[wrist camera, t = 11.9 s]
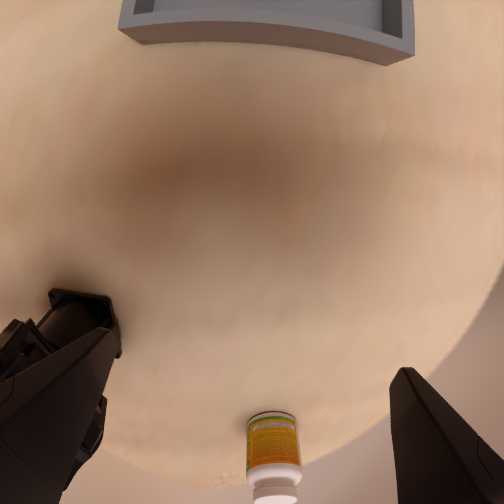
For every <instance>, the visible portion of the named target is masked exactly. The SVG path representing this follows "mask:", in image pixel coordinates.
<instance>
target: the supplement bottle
mask: <svg viewBox="0 0 504 504" xmlns="http://www.w3.org/2000/svg"><path fill="white" fill-rule="evenodd" d="M246 478H247V481H248V483H249V484H250V485H252V486H253V487H255V489H254V503H255V504H293V503H295V502H296V501H297V499H298V498H297V489H296V487H295V486H294V485H296V484H297V483H298V482H299V481H300V480H301V478H302V462H301V453H300V445H299V436H298V428H297V423H296V420H295V419H294V418H293V417H291V416H290V415H287V414H284V413H279V412H270V413H264V414H260V415H258V416H256V417H254V418H252V419H251V420H250V421H249V423H248V425H247V466H246Z"/></svg>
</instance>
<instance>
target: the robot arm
mask: <svg viewBox="0 0 504 504" xmlns="http://www.w3.org/2000/svg"><path fill="white" fill-rule="evenodd" d="M48 296H49V300H50V303H51V307H52V308H51V309H50V310H49V311H48V312H47V314H46V315H45V316H44V317H43V318H42V319H41V320H40V322H39V323H38V324H37V325H36V326H35V325H34V324H35V323H34V322H33V321H32V319H31V318H29V319H28V320H27V321H26V322H25V323H24V322H21V321H19V320H17V319H14V320H13V321H12V322H11V323H10V324H9V325H8V326H7V327H6V328H5V329H4V330H3V331H2V332H1V334H0V504H59V501H60V498H61V496H62V492H63V491H65V490H66V489H67V487H68V486H69V484H70V482H71V480H72V479H73V477H74V475H75V474H76V472H77V471H78V470H79V469H80V467H81V466H82V465H83V464H84V463H85V462H86V461H87V460H88V459H90V458H91V457H92V455H93V454H94V453H95V451H96V450H97V449H98V447H99V445H100V443H101V441H102V438H103V432H104V423H105V415H106V407H107V398H105V397H104V396H103V395H102V394H103V391H104V388H105V385H106V382H107V379H108V376H109V373H110V370H111V367H112V364H113V361H114V358H116V359H119V358H120V357H121V354H122V352H121V348H120V346H121V342H120V337H119V333H118V328H117V324H116V322H115V320H114V315H113V310H112V305H111V301H110V300H109V299H108V298H107V297H103V296H96V295H89V294H83V293H76V292H70V291H64V290H58V289H51V290H50V291H49V292H48ZM104 302H105V303H106V304H107V305H106V304H104ZM389 394H390V415H391V434H392V442H393V451H394V459H395V469H396V480H397V493H398V504H504V460H503V459H502V458H501V457H500V456H499V455H498V454H497V453H495V451H493V449H492V448H491V447H490V446H489V445H488V444H487V443H486V442H485V441H484V440H483V439H482V438H481V437H480V436H478V434H477V433H476V432H475V431H474V430H473V429H472V427H471V426H470V425H468V423H467V422H466V421H465V420H464V419H463V418H462V417H461V416H460V415H459V414H458V413H457V412H456V411H455V410H454V409H453V408H452V407H451V406H450V405H449V404H448V402H446V400H445V399H444V398H443V397H441V395H440V394H439V393H438V392H437V391H436V390H435V389H434V388H433V387H432V386H431V385H430V384H429V383H428V382H427V381H426V380H425V379H424V378H423V377H422V376H421V375H420V374H419V373H418V372H417V371H416V370H415V369H414V368H412V367H402V368H400V369H399V371H398V372H397V374H396V376H395V377H394V379H393V381H392V382H391V384H390V388H389Z"/></svg>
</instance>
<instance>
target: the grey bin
mask: <svg viewBox="0 0 504 504" xmlns="http://www.w3.org/2000/svg"><path fill="white" fill-rule="evenodd" d="M118 30H120V31H121V32H123V33H124V34H126V35H128V36H129V37H131V38H132V39H134V40H135V41H137V42H138V43H140V44H141V45H146V44H157V43H170V42H192V41H227V42H250V43H263V44H274V45H283V46H292V47H299V48H306V49H312V50H318V51H324V52H329V53H335V54H339V55H344V56H349V57H353V58H357V59H362V60H366V61H370V62H373V63H377V64H381V65H384V66H388V65H390V64H393V63H396V62H398V61H401V60H404V59H407V58H409V57H412V56H415V27H414V4H413V0H123V3H122V8H121V13H120V18H119V24H118Z"/></svg>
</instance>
